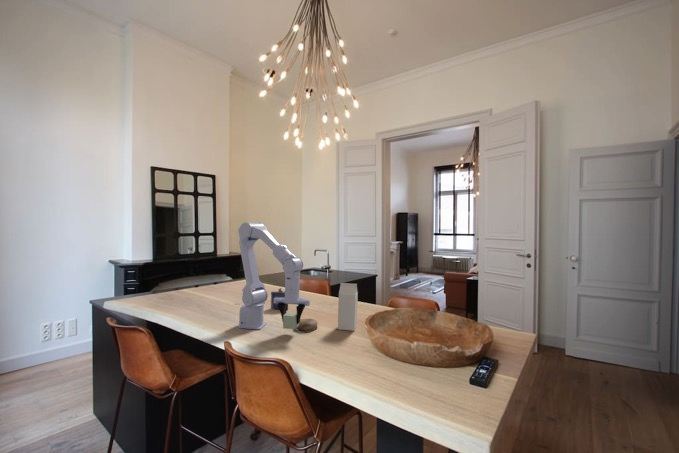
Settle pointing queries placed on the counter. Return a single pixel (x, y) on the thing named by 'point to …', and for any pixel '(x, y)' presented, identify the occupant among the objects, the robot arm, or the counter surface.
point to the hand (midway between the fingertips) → (291, 322)
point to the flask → (278, 295)
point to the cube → (290, 320)
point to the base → (307, 325)
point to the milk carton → (347, 306)
